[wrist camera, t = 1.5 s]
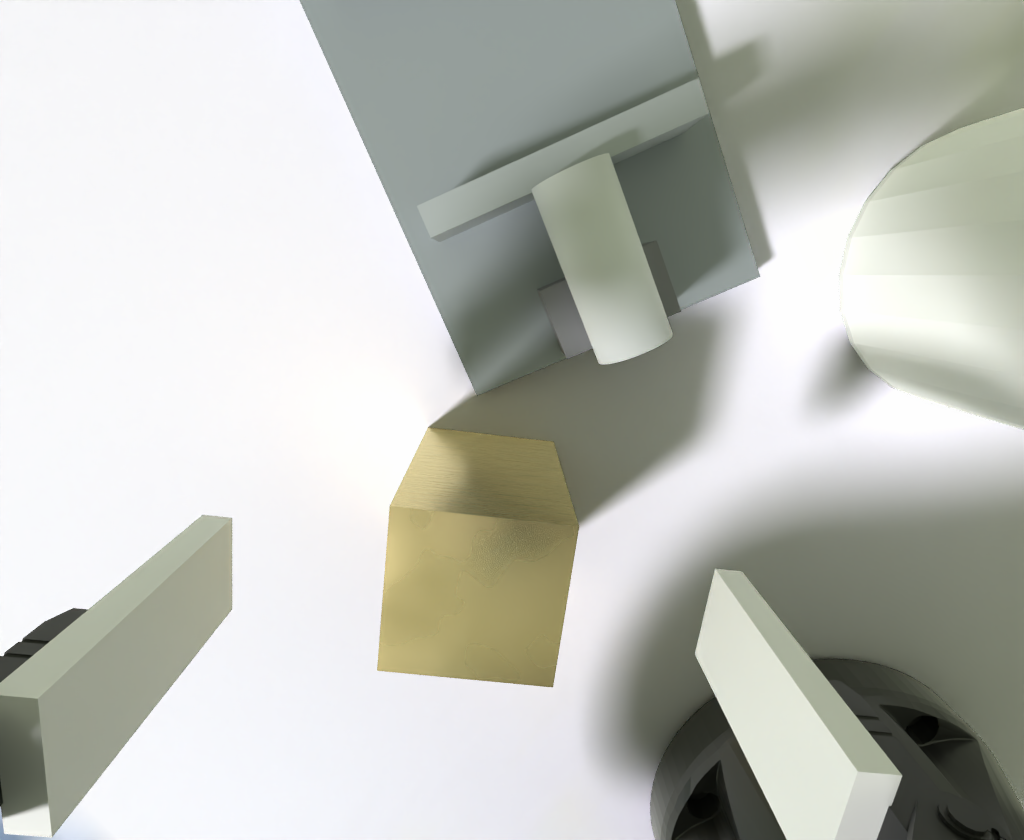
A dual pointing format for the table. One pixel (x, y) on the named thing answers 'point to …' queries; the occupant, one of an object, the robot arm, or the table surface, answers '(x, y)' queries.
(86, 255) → the table surface
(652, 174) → the shaft rig
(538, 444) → the coupling block
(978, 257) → the mug
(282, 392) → the table surface
